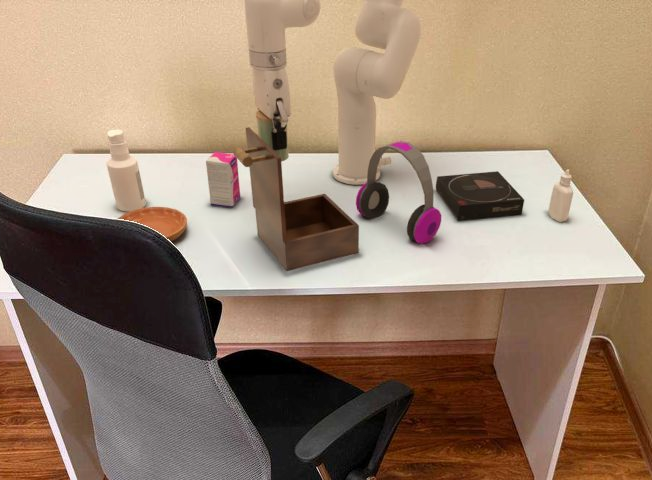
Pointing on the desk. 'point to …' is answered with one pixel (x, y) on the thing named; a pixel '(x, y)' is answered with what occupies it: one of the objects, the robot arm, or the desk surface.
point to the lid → (265, 181)
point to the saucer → (159, 220)
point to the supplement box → (223, 179)
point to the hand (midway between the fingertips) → (273, 142)
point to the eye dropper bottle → (561, 198)
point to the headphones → (376, 194)
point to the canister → (269, 133)
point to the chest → (311, 233)
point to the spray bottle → (124, 174)
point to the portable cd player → (479, 196)
